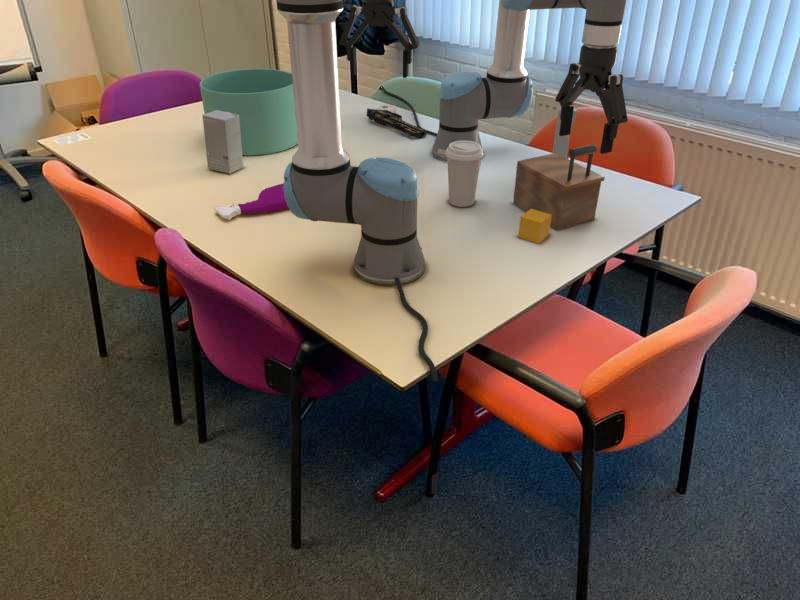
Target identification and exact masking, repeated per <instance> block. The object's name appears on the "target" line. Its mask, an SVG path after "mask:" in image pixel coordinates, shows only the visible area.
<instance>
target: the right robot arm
mask: <svg viewBox="0 0 800 600" xmlns="http://www.w3.org/2000/svg"><path fill="white" fill-rule="evenodd" d="M626 4H627V0H498V9H497V19H496V27H495V28H496V29H495V30H496V31H495V39H494V50H493V51H494V52H493V60H492V64H491V65H490V66H489V67H488V68H487V70H486V76H485V77H482V75H481V74H480V73H478V72H475V71H460V72H455V73H452V74H450V75H448V76H446V77H445V78H443V79H442V80H441V83H440V91H439V96H438V97H439V116H438V117H439V121H438V131H437V132H435V131H431V130H428V129H425V128H423V127H422V126H421V125H420V122H419V120H418V116H417V113H416V110H415V108H414V106H413V104H411V102H408V101H407V100H406V99H405V98H403V97H401V96H399V95H397V94H395V93H392V92H389V91H387V90H386V88H385V87H384V86H383V85H380V86H379V88H378V90H382V91H383V93H385V94H387V95H388V96H391V97H393V98H396V99H398V100H400V101H402V102H403V103H404V104H406V105H407V106H408V107H409V108H410V110H411V112H412V115H413V117H414V121H415V123H416V126H417V127H419V128H421V129H424V130H426V131H427V134H428V135H431V136H434V137H435V138H434V143H433V144H432V150H431V151H432V152H431V153H432V156H433V157H434V158H436V159H438V160H440V161H443V162H447V156H446V155H445V152H446V150H447V148H448V147H449V144H450V143H452V142H455V141H472V142H476V143H478V144H480V146H481V149H482V150H483V144H482V140H481V137H480V133H479V121H480V120H489V119H502V118H503V119H504V118H506V119H507V118H508V119H510V118H513V117H520V116H522V115H524V114H525V113H526V112H527V111H528V109H529V107H530V105H531V103H532V99H533V93H534V92H533V91H534V90H533V81H532V78H531V77H530V76H529V75H528V70H527V69H526V68H525V67H524V60H525V53H526V46H527V45H526V44H527V36H528V29H529V21H530V13H531V12H530V11H535V10H551V9H552V10H555V9H556V10H557V9H582V10H583V9H584V10H585V16H584V23H583V24H584V25H583V30H582V37H581V43H582V45H581V47H580V51H579V58H578V62H572V63H570V64H569V68H568V73H567V74H566V76H565V79H564V80H563V83H562V85H561V86H560V89H559V90H558V92H557V94H556V96H555V99H554V100H555V102H556V103H559V105H560V106H561V114H560V120H561V124H560V132H559V136H565V135H570V136H571V132H572V130H571V124H572V117H573V110H574V107H575V106H574V102H575V101H576V100H577V99H578V98H579V97H580V96H581V95H582V93H583V92H584V91H585V90H588V91H590V92H591V93H595V95H596V96H597V97H598V98H599V101H600V103H601V107H602V110H603V113H604V115H605V118H606V120H607V122H606V123H604V124H603V125H604V126H603V131H602V137H601V144H600V145H601V146H600V150H599V154H601V155H605V154H608V153H612V151H613V145H614V141H615V139H616V138H617V134H618V129H619V125H620V124H624V123H628V112H627V107H626V101H625V95H624V89H623V82H624V75H623V74H622V73H620V74H613V72H612V69H613V68H614V66H615V65H616V62H617V55H618V50H619V49H618V47H617V45H619V43H620V37H621V31H622V25H623V19H624V15H625V9H626ZM579 77H580V78H579ZM381 87H382V88H381ZM570 131H571V132H570ZM483 151H484V150H483Z"/></svg>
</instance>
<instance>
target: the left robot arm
mask: <svg viewBox="0 0 800 600" xmlns="http://www.w3.org/2000/svg"><path fill="white" fill-rule="evenodd" d="M275 2H276V10H277V13H278V14H280V15H281V16H282V17H283V18H284V19H285V20H286V25H287V26H286V27H287V37H288V38H287V39H288V49H289V59H290V69H291V70H290V71H291V73H292V82H293V93H294V104H295V115H296V126H297V137H298V144H297V146H298V149H297V151H295V152H294V154H293V155H292V156H291V161H290V162H289V163H288V164H287V166H286V167H285V169H284V173H283V180H284V182H283V183H282V184H283V188H284V195H285V199H286V203H287V205H288V208H289V211H290V212H291V213H292V215H294V217H296V218H298V219H302V220H309V221H311V222H327V223H328V222H329V223H339V224H349V225H359V226H360V239H359V242H358V247H357V249H356V252H355V256H354V259H353V270H354V273H355V275H356V276H357V277H358V278H359V279H360V280H362V281H364V282H366V283H369V284H370V285H371V284H372V285H376V286H382V287H395V286H396V288H397V291H398V295H399V300H400V302H401V304H402V306H403V307H404V308H405V309H406V311H407V312H409V313H410V314H411V315H413V316H414V317H415V318H417V320H419V322H420V323H421V326H422V330H421V333H420V336H419V340H418V347H417V348H418V354H419V355H420V357H421V359H422V360H423V361H424V362H425V363H426V365H427V366H428V369H429V371H430V376H431V379H432V381H433V382H438V381H439V376H438V372H437V369H436V366H435V364H434V362H433V361H432V359H431V357H430V356H429V355H428V354H427V353H426V351H425V346H424V345H425V341H426V340H427V339H426V338H427V336H428V332H429V325H428V322H427V319H425V317H424V316H423V315H422V314H421V313H420V312H418V311H417V310H416V309H414V308H413V307H412V306H411V305H410V303H408V301H407V298H406V295H405V291H404V288H403V286H402V285H406V284H410V283H413V282H415V281H417V280H418V279H420V278H421V276H423V274H424V273H425V270H426V260H425V255H424V252H423V250H422V249H423V248H422V247H421V244H420V241H419V238H418V198H419V189H418V177H417V173H416V171H415V170H414V169H413V168H412V167H411V166H409V164H407V163H405V162H403V161H400V160H398V159H393V158H389V157H376V158H373V157H369V158H366V159H364V160H362V161H361V162H360V163H359V164H358V166H355V165H354V166H353V165H351V155H350V153H349V152H348V151H347V150H345V149H344V148H343V142H342V141H343V140H342V124H341V123H342V121H341V104H340V103H341V101H340V84H339V83H340V82H339V65H338V64H339V63H338V45H337V28H336V20H337V18H338V17H339V15H340V14H342V12H343V10H344V0H275ZM360 13H361V14H362V16H363V17H364V20H363V21H362V23H361V24H360V25H359V27H358V28H357V30H356V31H355V32H354V34H353V35H352V36H351V38H349V36H350V34H351V31H352V29H353V27H354V24H355V22H356V19H357V17H358V16H359V15H360ZM395 15H397V17H398V18H400V20H401V23H402V25H403V28H404V30H405V31H406V32H405V33H406V34H407V36H406V35H405V33H403V31H402V29H400V27H399V26H398V24H397V23H396V21H395V20H394V16H395ZM369 26H371V27H373V28H374V27H379V28H380V27H381V28H385V27H386V26H387V28H388V29H389V30H390V31H391V32H392V33H393V35H394V36H395V38H396V39H397V40H398V41H399V43H400V44H401V45H402V46H403V48H404V49H403V50H402V78H403V79H407V77H408V76H409V65H410V64H411V63H412V62H413V50H416V49H418V47H420V42H419V39H418V37H417V35H416V33H415V30H414V27H413V26H412V23H411V21H410V19H409V16H408V9H407V7H406V6H402V7H395V0H362V6H358V5H357V4H353V5H352V6H350V7H349V16H348V19H347V22H346V24H345V27H344V29H343V31H342V34H341V36H340V38H339V40H338V41H339V42H338V44H339V45H340V46H343V47H345V49H346V60H347V62H350V68H351V69H350V73H351V74H350V75H351V76H355V75H357V74H358V63H357V46H354V44H355V43H356V42H357V41H358V39H359V38H360V37H361V35H363V33H364V31H365V30H366V29H367V28H368V27H369ZM407 37H408V38H407ZM348 39H349V40H348ZM437 492H438V473H434V474H431V494H433V495H436V494H437Z"/></svg>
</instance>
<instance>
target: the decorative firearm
mask: <svg viewBox="0 0 800 600" xmlns="http://www.w3.org/2000/svg"><path fill="white" fill-rule="evenodd" d="M397 110H398V107H397V105H393V104H388V103H385V104H382V105H379V106H378V107H376V108H369V107H367V108H366V117H367V118H368V119H369V120H370V121H373V122H374V123H377V124H379V125H382V126H383V127H384V126H389V127H391V128H393V129H395V130H397V131H399V132H401V133H404V134H406V135H408V136H411V137H415V138H416V137H419V138H424V137H426V136H427V134H428V133H427V131H426V130H427V129H425V128H423V129H421V128H422V127H421V128H419V127H417V125H413V124H411V123H409V122H406V121H405V120H403V115H401V114H399V113H397ZM424 129H425V130H424Z"/></svg>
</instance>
